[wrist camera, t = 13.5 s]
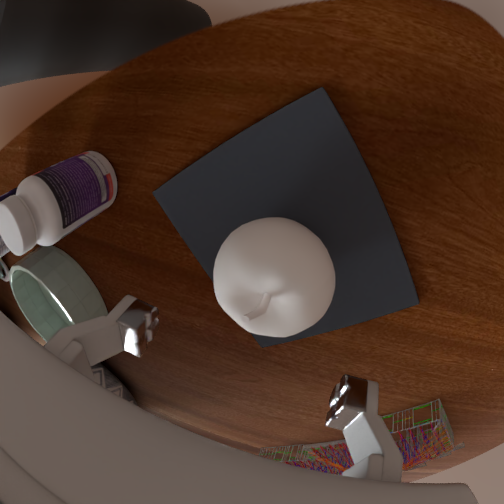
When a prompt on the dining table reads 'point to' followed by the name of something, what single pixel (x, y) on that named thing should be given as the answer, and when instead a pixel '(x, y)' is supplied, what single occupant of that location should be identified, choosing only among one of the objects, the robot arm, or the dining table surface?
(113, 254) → the dining table surface
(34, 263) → the fruit bowl
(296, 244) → the plain white apple
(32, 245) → the pill bottle
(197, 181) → the mat
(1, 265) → the pacifier
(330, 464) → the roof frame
